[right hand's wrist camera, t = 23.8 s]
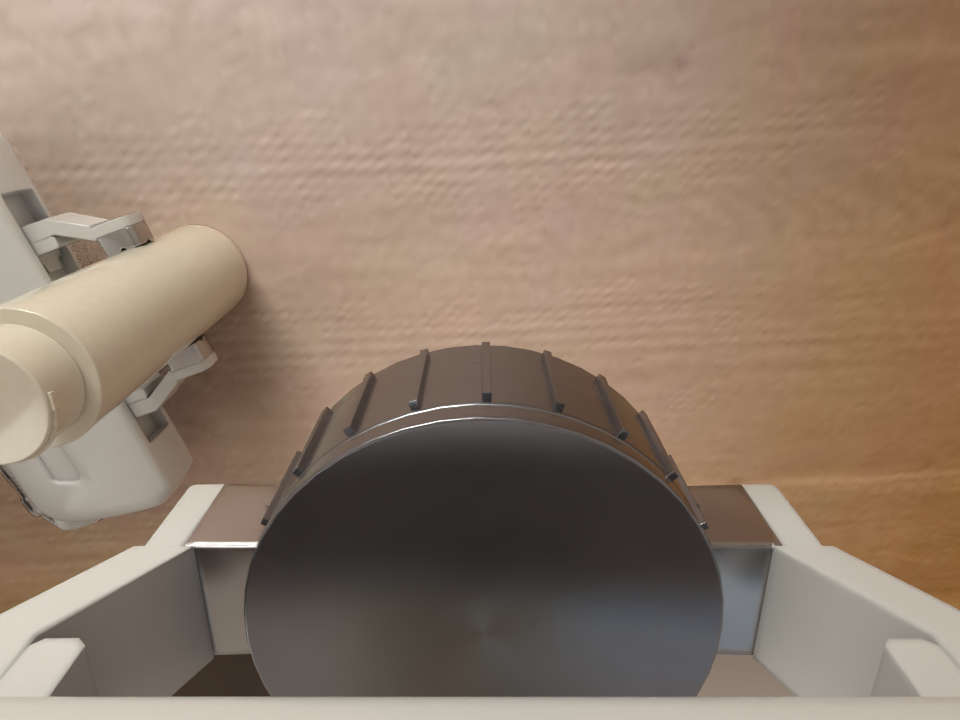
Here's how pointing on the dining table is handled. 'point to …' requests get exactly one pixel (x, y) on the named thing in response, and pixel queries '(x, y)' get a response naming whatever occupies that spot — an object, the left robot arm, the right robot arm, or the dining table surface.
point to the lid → (483, 542)
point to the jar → (107, 334)
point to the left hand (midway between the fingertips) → (176, 289)
